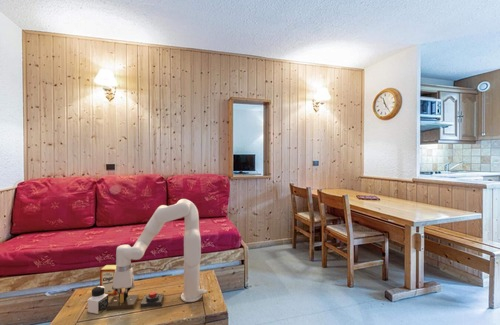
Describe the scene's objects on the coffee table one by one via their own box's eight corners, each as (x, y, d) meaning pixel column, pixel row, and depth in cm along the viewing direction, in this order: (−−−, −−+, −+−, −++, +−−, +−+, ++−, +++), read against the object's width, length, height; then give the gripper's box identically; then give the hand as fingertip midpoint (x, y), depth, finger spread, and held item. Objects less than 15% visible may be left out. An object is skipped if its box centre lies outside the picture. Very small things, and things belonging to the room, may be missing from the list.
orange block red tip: (123, 297, 145) (123, 288, 145) (126, 297, 145) (126, 288, 145) (119, 303, 139) (119, 293, 139) (123, 302, 139) (123, 293, 139)
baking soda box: (99, 295, 151) (100, 268, 151) (105, 289, 158) (105, 264, 158) (115, 295, 152) (116, 269, 152) (120, 289, 158) (121, 264, 158)
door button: (156, 294, 147) (156, 291, 147) (155, 297, 143) (155, 294, 143) (150, 294, 146) (150, 291, 146) (148, 298, 143) (148, 295, 143)
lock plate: (138, 298, 148) (138, 294, 148) (133, 308, 138) (133, 303, 138) (113, 300, 146) (113, 296, 146) (106, 310, 136) (106, 306, 136)
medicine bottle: (98, 314, 133) (98, 292, 133) (87, 312, 134) (87, 290, 134) (108, 306, 140) (108, 285, 140) (97, 304, 141) (97, 283, 141)
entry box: (163, 297, 150) (163, 290, 150) (160, 306, 141) (161, 299, 141) (144, 298, 148) (144, 292, 148) (140, 307, 139) (140, 300, 139)
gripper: (140, 263, 147) (139, 294, 147) (111, 265, 144) (111, 296, 145) (136, 269, 139) (135, 302, 140) (105, 270, 137) (105, 303, 137)
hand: (123, 299), depth 142 cm, fingers closed on orange block red tip, 2 cm apart
